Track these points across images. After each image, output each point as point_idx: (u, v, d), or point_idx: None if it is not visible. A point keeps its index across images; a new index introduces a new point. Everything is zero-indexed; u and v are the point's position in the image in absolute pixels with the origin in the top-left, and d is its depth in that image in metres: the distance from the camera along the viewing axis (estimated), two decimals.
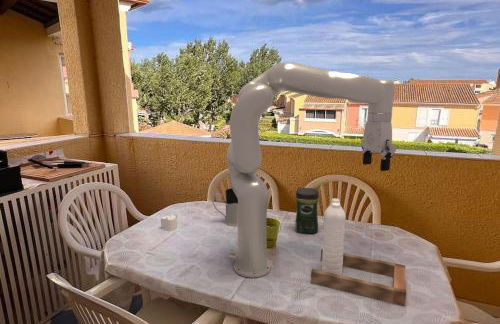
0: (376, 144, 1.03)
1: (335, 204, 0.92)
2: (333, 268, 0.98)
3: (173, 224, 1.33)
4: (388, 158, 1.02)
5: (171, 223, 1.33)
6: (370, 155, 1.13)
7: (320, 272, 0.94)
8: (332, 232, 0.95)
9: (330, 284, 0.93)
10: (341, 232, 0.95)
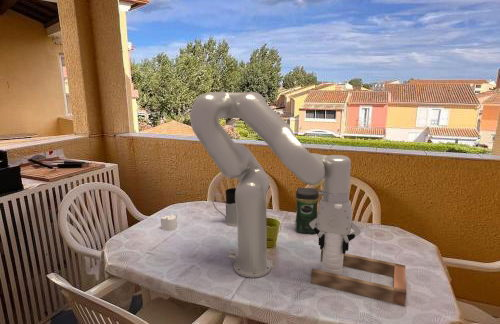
0: (343, 226, 0.93)
1: None
2: (334, 268, 0.98)
3: (173, 224, 1.33)
4: None
5: (171, 223, 1.33)
6: None
7: (320, 272, 0.94)
8: None
9: (330, 284, 0.93)
10: None
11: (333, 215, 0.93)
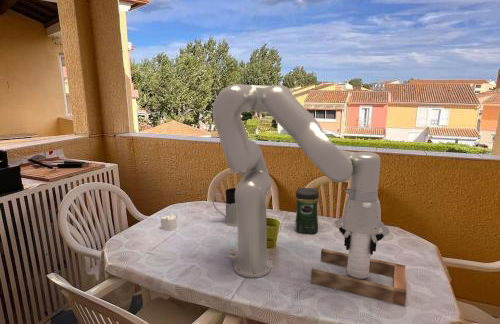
0: (372, 226, 0.89)
1: (366, 203, 0.88)
2: (361, 269, 0.94)
3: (173, 224, 1.33)
4: None
5: (171, 223, 1.33)
6: None
7: (320, 272, 0.94)
8: None
9: (330, 284, 0.93)
10: None
11: (361, 214, 0.90)
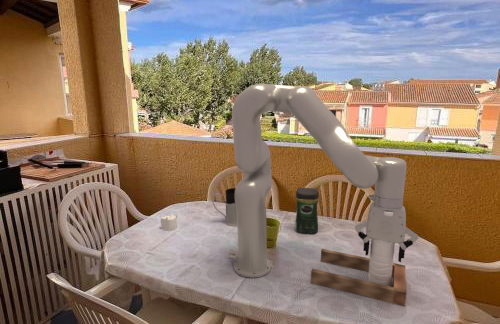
0: (397, 234, 0.87)
1: (388, 211, 0.86)
2: (383, 279, 0.92)
3: (173, 224, 1.33)
4: None
5: (171, 223, 1.33)
6: None
7: (320, 272, 0.94)
8: None
9: (330, 284, 0.93)
10: None
11: (386, 221, 0.87)
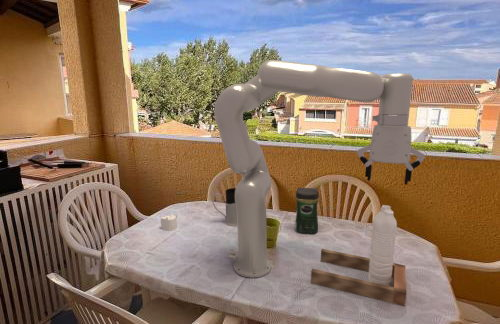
0: (402, 153, 0.82)
1: (388, 211, 0.86)
2: (383, 279, 0.92)
3: (173, 224, 1.33)
4: None
5: (171, 223, 1.33)
6: (371, 168, 0.90)
7: (320, 272, 0.94)
8: (383, 240, 0.89)
9: (330, 284, 0.93)
10: (392, 241, 0.89)
11: (390, 141, 0.83)
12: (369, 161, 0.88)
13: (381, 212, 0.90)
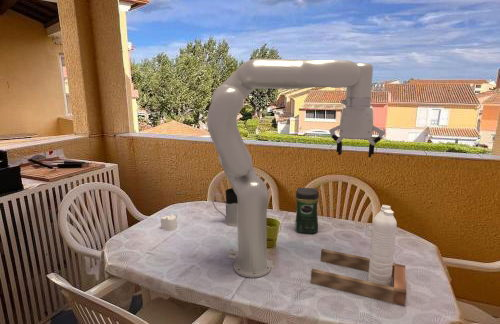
0: (365, 130, 0.99)
1: (388, 211, 0.86)
2: (383, 279, 0.92)
3: (173, 224, 1.33)
4: (375, 143, 1.01)
5: (171, 223, 1.33)
6: (341, 144, 1.06)
7: (320, 272, 0.94)
8: (383, 240, 0.89)
9: (330, 284, 0.93)
10: (392, 241, 0.89)
11: (355, 120, 0.99)
12: (339, 138, 1.04)
13: (381, 212, 0.90)
